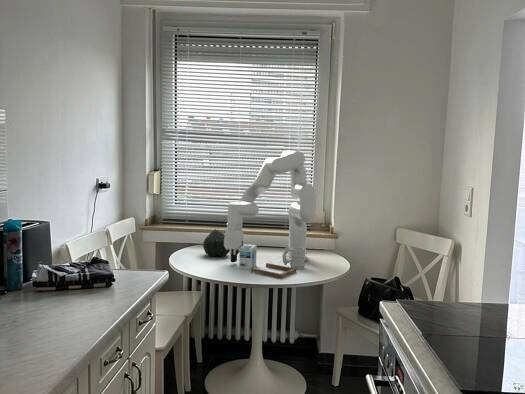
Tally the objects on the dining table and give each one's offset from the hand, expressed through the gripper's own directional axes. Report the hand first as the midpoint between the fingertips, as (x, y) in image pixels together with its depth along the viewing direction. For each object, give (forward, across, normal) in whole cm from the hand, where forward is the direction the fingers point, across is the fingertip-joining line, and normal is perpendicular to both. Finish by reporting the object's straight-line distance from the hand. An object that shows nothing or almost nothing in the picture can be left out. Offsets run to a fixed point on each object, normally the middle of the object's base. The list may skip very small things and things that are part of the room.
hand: (233, 261), depth 232 cm
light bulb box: (+2, +9, 0) cm, 9 cm away
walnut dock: (+1, +24, 0) cm, 24 cm away
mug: (+2, +27, +15) cm, 31 cm away
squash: (+2, -19, +9) cm, 21 cm away
